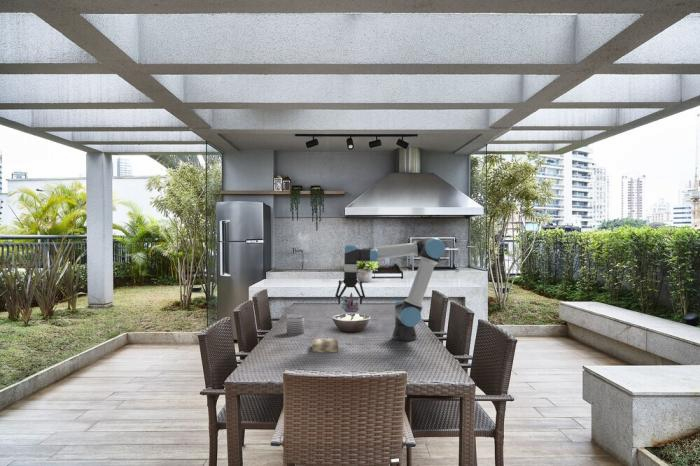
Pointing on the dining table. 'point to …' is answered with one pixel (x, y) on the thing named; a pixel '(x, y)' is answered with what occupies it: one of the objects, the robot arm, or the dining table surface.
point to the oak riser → (325, 345)
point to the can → (295, 324)
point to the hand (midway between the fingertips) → (349, 309)
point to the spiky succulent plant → (349, 304)
